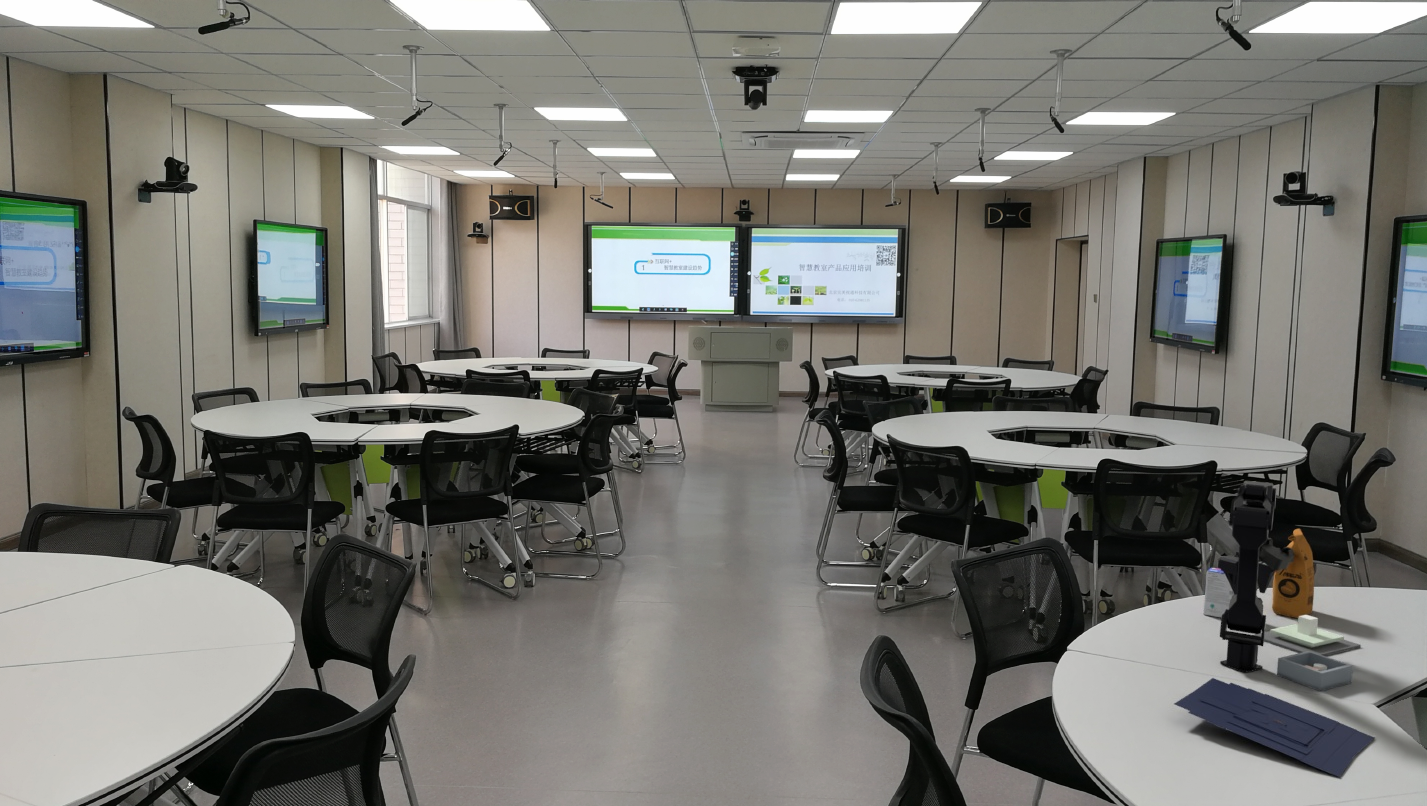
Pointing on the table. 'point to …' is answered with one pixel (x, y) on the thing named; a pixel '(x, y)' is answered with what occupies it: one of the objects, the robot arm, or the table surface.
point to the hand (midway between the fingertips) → (1250, 595)
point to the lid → (1307, 633)
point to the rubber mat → (1322, 649)
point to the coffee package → (1295, 581)
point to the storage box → (1314, 670)
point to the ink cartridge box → (1217, 593)
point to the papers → (1277, 724)
